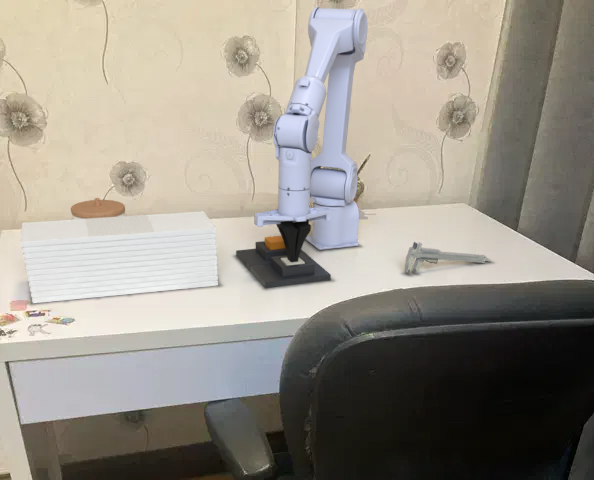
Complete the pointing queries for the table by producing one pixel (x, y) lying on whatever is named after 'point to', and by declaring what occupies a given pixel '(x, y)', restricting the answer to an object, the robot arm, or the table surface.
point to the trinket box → (97, 209)
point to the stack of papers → (119, 255)
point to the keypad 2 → (289, 272)
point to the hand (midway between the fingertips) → (292, 260)
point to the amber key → (274, 242)
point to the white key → (292, 262)
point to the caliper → (436, 257)
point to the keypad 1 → (261, 255)
